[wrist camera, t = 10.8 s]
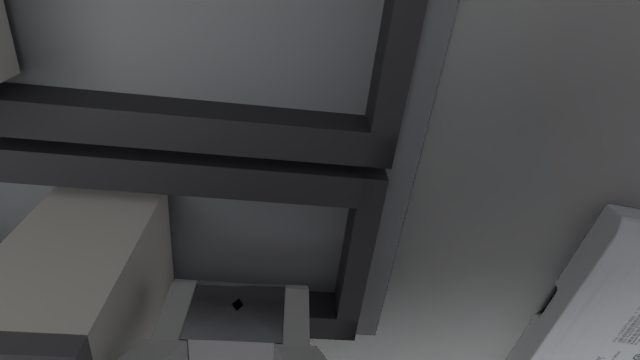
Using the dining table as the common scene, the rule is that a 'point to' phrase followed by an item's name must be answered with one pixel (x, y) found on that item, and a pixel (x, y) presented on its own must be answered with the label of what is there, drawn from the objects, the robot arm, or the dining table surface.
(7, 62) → the block
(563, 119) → the dining table surface
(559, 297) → the external hard drive
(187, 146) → the panel
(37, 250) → the block
